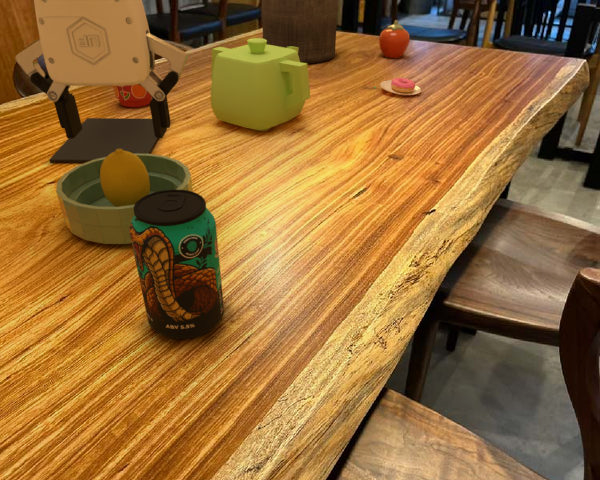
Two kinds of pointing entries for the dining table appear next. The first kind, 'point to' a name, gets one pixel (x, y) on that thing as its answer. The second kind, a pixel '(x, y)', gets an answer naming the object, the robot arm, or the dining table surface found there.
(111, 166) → the lemon
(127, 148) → the mat
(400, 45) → the tomato
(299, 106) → the teapot
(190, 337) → the beverage can
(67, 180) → the bowl
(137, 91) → the smoothie
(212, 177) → the dining table surface
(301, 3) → the planter
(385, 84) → the donut
